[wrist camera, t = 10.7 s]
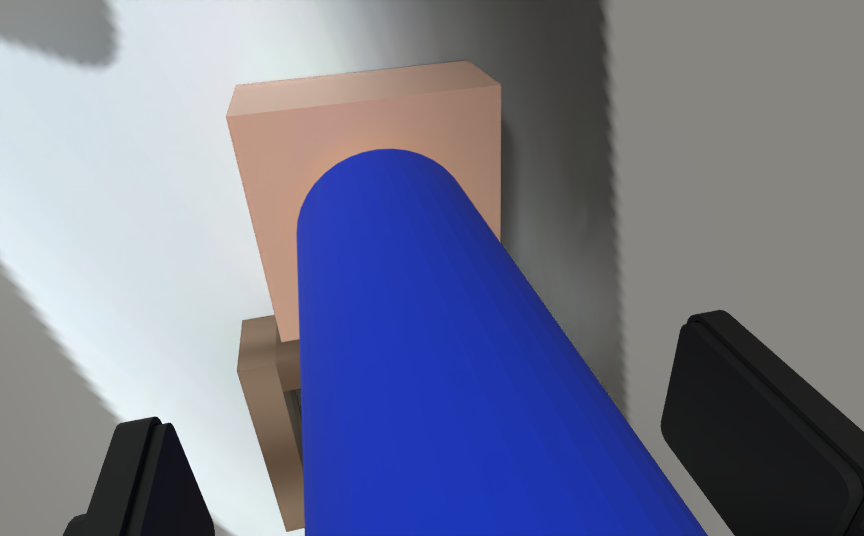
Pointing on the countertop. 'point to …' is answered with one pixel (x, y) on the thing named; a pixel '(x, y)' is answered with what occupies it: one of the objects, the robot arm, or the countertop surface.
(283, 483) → the block
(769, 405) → the robot arm
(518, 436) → the beverage can
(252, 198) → the stand
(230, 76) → the countertop surface
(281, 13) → the countertop surface
